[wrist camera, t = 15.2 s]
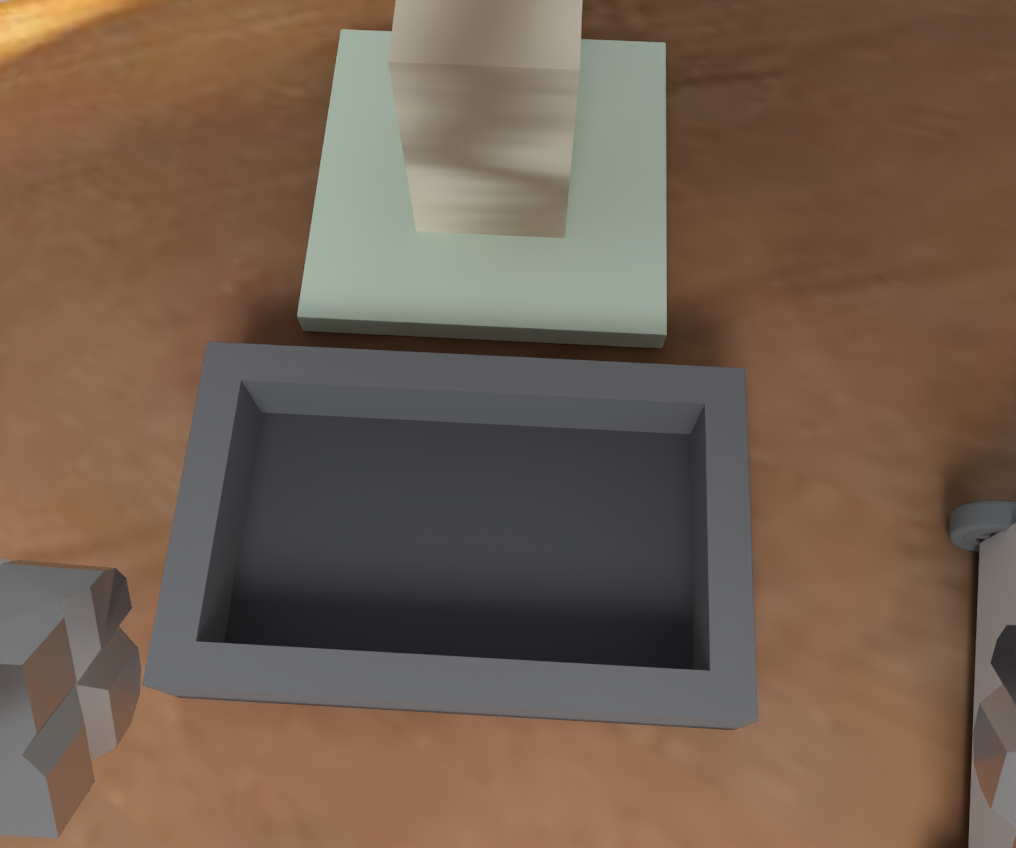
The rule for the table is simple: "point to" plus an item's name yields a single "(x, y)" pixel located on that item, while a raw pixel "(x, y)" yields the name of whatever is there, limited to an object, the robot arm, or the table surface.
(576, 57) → the birch block
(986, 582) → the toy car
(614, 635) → the tray
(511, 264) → the pad
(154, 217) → the table surface
